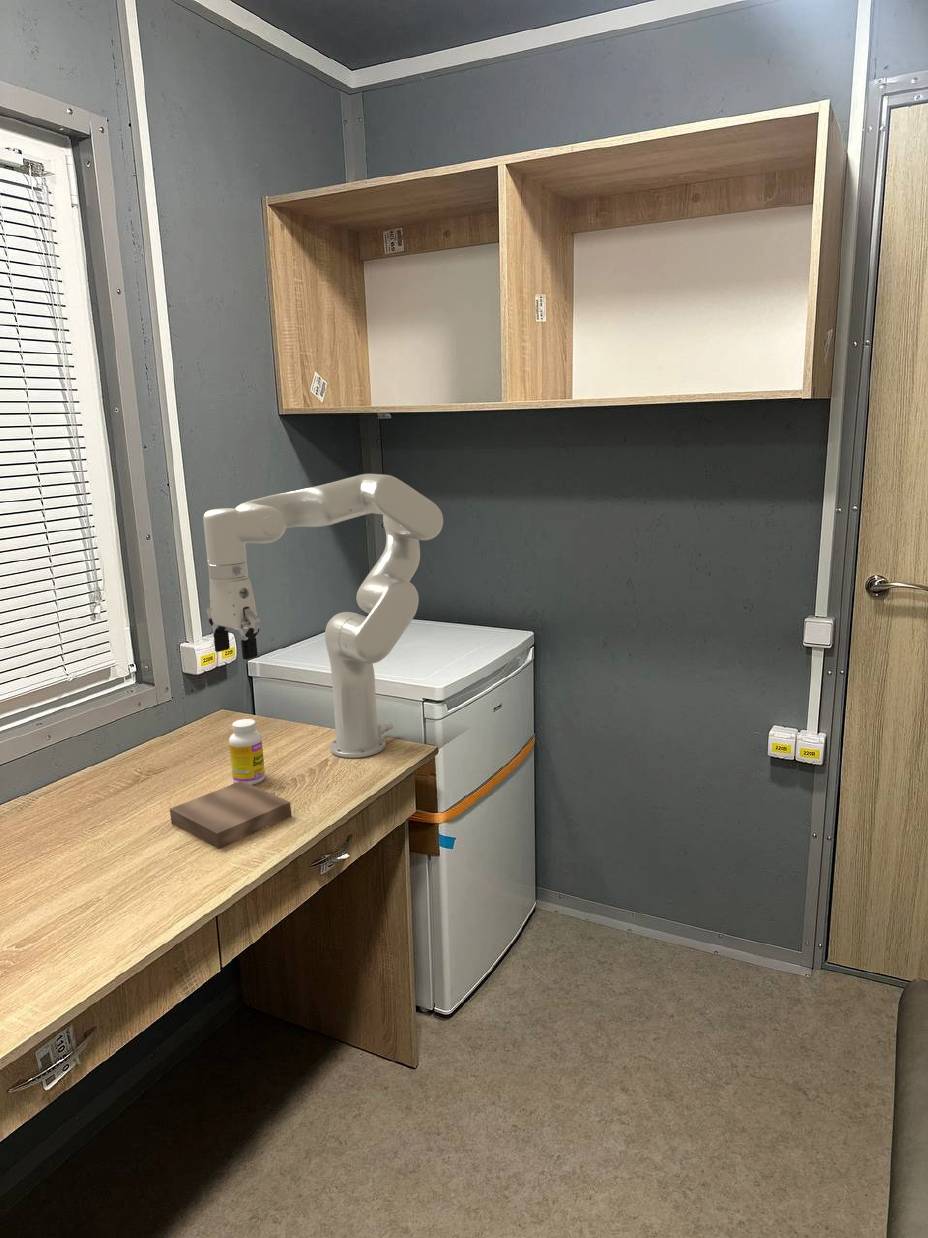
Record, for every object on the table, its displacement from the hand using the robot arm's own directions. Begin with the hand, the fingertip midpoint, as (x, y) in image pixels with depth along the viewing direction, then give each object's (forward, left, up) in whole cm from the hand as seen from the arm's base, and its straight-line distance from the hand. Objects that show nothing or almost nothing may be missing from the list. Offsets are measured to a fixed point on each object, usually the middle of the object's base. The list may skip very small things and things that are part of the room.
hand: (236, 654), depth 177 cm
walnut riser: (+13, +13, -28) cm, 33 cm away
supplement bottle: (0, 0, -28) cm, 28 cm away
